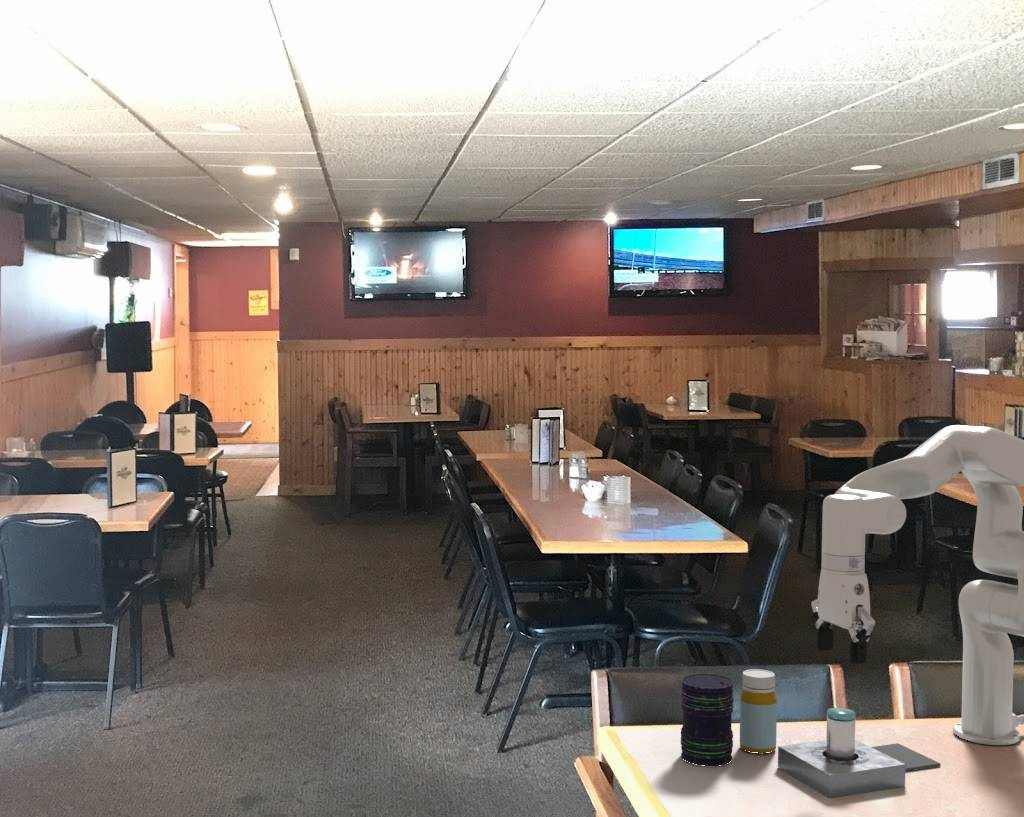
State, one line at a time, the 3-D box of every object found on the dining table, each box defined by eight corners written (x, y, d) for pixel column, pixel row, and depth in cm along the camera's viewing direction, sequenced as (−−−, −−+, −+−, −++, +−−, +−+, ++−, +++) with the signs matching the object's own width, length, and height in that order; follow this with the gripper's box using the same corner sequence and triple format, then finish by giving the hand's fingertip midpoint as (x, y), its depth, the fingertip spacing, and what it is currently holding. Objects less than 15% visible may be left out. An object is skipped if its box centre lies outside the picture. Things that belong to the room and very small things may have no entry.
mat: (898, 746, 231) (898, 743, 231) (940, 766, 219) (940, 763, 219) (847, 753, 226) (847, 750, 226) (887, 774, 215) (887, 771, 215)
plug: (843, 770, 217) (844, 706, 216) (859, 779, 212) (861, 714, 212) (820, 773, 215) (821, 709, 215) (836, 783, 211) (838, 717, 210)
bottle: (776, 756, 224) (777, 679, 224) (739, 753, 226) (740, 677, 225) (775, 744, 231) (776, 669, 231) (739, 742, 233) (740, 667, 232)
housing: (849, 757, 224) (849, 736, 224) (904, 786, 209) (905, 764, 209) (777, 767, 218) (778, 746, 218) (829, 797, 204) (830, 775, 203)
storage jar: (672, 761, 221) (673, 683, 221) (690, 746, 230) (691, 671, 229) (723, 770, 217) (724, 691, 216) (739, 754, 225) (740, 678, 225)
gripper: (891, 570, 205) (889, 666, 206) (831, 554, 221) (829, 643, 222) (855, 572, 203) (853, 670, 203) (797, 556, 219) (796, 646, 220)
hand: (841, 656), depth 213 cm, fingers open, 9 cm apart
